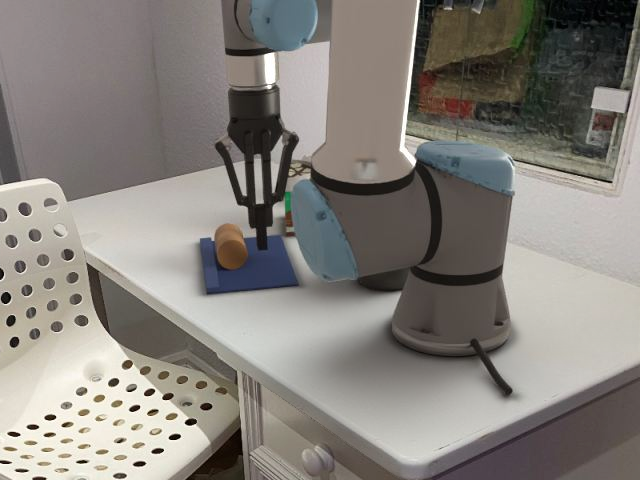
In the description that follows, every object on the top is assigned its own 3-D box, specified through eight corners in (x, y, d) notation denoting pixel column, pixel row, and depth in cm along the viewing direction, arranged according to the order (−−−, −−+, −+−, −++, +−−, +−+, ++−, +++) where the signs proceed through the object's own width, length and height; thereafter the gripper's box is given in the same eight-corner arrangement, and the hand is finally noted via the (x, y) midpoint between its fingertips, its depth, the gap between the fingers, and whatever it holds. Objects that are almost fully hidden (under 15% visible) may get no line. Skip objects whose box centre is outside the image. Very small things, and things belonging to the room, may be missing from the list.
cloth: (298, 285, 124) (298, 279, 123) (207, 294, 123) (206, 288, 123) (280, 236, 141) (280, 230, 141) (200, 243, 141) (199, 238, 140)
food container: (321, 237, 139) (321, 177, 133) (285, 239, 140) (283, 179, 134) (318, 214, 149) (318, 156, 143) (285, 215, 150) (283, 158, 143)
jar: (424, 268, 126) (428, 218, 121) (417, 294, 119) (420, 242, 114) (360, 265, 129) (361, 216, 124) (349, 290, 121) (349, 239, 116)
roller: (224, 234, 126) (212, 262, 128) (252, 247, 128) (239, 274, 130) (221, 218, 132) (209, 245, 135) (247, 230, 134) (235, 256, 136)
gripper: (294, 76, 121) (298, 235, 135) (206, 84, 120) (220, 243, 134) (302, 86, 115) (305, 251, 129) (210, 94, 114) (223, 259, 128)
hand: (262, 247), depth 132 cm, fingers closed
